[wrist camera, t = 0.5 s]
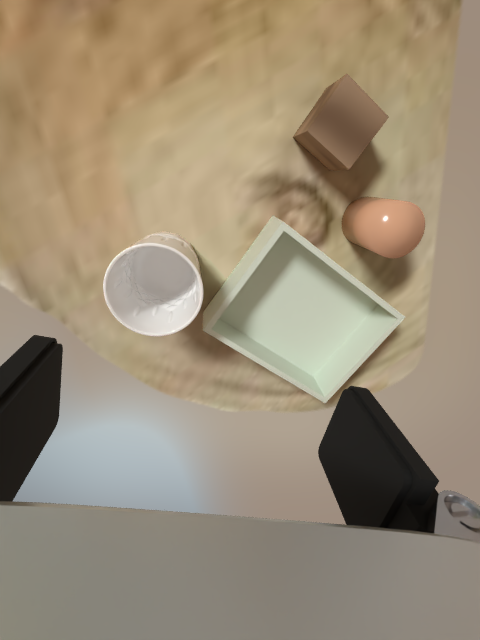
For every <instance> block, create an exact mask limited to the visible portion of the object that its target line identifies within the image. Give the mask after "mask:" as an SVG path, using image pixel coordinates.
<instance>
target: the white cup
mask: <svg viewBox="0 0 480 640" xmlns="http://www.w3.org/2000/svg"><path fill="white" fill-rule="evenodd" d="M103 290H104V297H105V300H106V303H107V305H108V308H109V309H110V311H111V313H112V314H113V315H114V317H115V318H116V319H117V320H118V321H119V322H120V323H121V324H123V325H124V326H125V327H127V328H128V329H130V330H132V331H134V332H137V333H139V334H143V335H147V336H166V335H170V334H173V333H176V332H178V331H180V330H182V329H184V328H185V327H187V326H188V325H189V324H190V323H191V322H192V321H193V320H194V319H195V317H196V316H197V314H198V313H199V311H200V308H201V305H202V302H203V283H202V277H201V270H200V266H199V262H198V259H197V255H196V253H195V251H194V249H193V248H192V246H191V244H190V243H189V242H188V241H187V240H185V239H184V238H183V237H181V236H180V235H179V234H175V233H170V232H165V231H162V232H158V233H154V234H150V235H148V236H146V237H144V238H142V239H140V240H138V241H137V242H135V243H134V244H132V245H131V246H129V247H128V248H127V249H125V250H124V251H122V252H121V253H119V254H118V255H117V256H116V257H115V258H114V259H113V260H112V262H111V263H110V265H109V266H108V268H107V271H106V273H105V277H104V283H103Z"/></svg>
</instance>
